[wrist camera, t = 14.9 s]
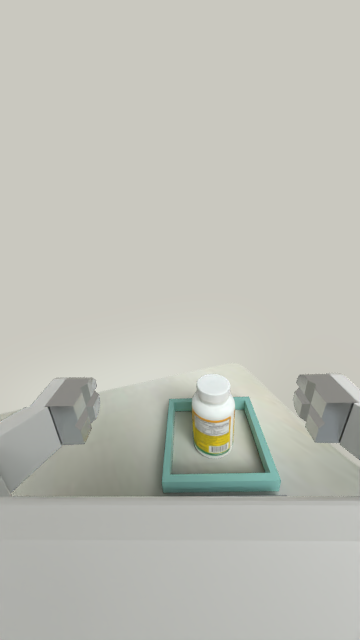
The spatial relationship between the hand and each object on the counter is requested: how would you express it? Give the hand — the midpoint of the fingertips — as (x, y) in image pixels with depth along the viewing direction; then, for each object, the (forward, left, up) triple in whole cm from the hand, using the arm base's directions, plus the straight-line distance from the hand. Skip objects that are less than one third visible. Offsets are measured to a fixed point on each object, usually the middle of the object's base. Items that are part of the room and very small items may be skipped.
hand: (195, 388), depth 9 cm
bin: (+3, +14, -21) cm, 25 cm away
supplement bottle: (+2, +14, -21) cm, 25 cm away
